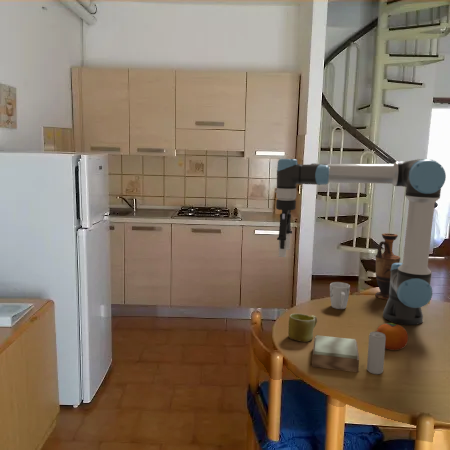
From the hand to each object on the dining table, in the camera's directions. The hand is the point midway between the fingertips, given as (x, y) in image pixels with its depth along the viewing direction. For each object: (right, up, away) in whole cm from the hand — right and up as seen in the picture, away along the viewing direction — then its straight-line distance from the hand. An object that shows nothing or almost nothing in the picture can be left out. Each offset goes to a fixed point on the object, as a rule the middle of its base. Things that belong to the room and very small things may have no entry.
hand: (284, 253), depth 177 cm
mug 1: (+6, -30, -12) cm, 33 cm away
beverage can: (+23, -34, -38) cm, 56 cm away
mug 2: (+27, -25, +19) cm, 41 cm away
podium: (+13, -33, -30) cm, 46 cm away
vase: (+52, -23, +35) cm, 67 cm away
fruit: (+34, -32, -20) cm, 51 cm away
